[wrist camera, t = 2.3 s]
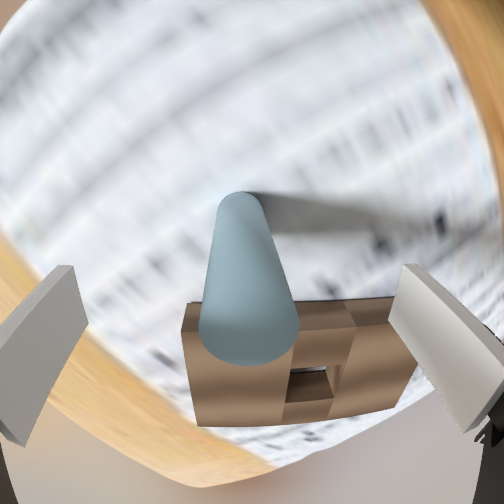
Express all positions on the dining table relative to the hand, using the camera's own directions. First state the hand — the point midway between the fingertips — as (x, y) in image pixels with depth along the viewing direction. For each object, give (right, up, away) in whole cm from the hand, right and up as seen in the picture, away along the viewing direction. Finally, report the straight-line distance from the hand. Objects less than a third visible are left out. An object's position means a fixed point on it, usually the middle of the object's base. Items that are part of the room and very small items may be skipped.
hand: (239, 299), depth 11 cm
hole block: (+5, -8, +14) cm, 17 cm away
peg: (0, +4, +9) cm, 10 cm away
